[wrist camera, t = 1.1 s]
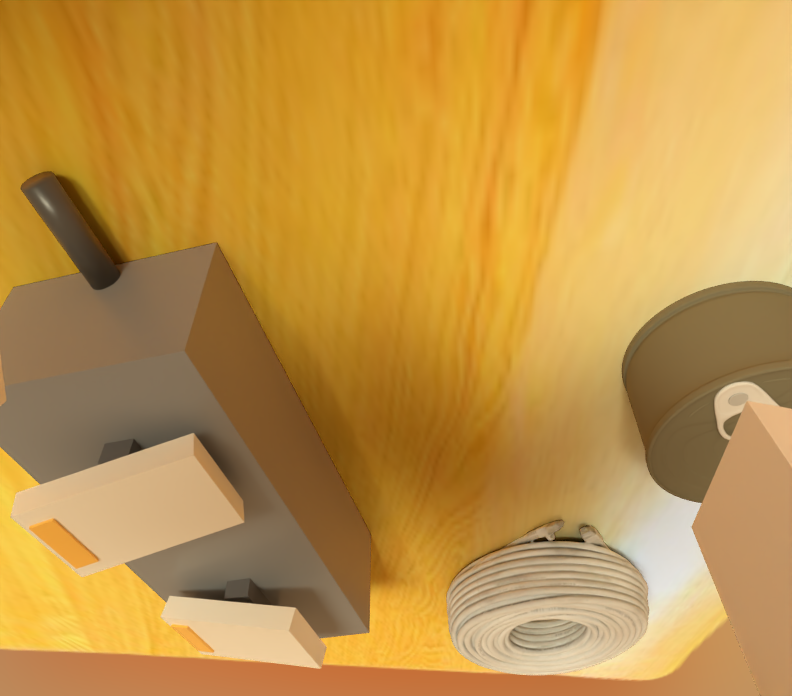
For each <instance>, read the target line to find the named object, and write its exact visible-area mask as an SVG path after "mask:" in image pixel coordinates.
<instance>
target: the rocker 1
mask: <svg viewBox="0 0 792 696" xmlns="http://www.w3.org/2000/svg"><path fill="white" fill-rule="evenodd" d="M11 518H12V519H13V520H14V521H16V522H17V523H18V524H19V525H20V526H22V527H23V528H24V529H25V530H26V531H27V532H29V533H30V534H31V535H32V536H33V537H35V538H36V539H37V540H38V541H39V542H41V543H42V544H43V545H44V546H45V547H46V548H48V549H49V550H50V551H51V552H52V553H54V554H55V555H56V556H57V557H58V558H60V559H61V560H62V561H63V562H64V563H66V564H67V565H68V566H69V567H70V568H71V569H73V570H74V571H75V572H76V573H77V574H79V575H80V576H81V577H84V576H87V575H90V574H93V573H96V572H99V571H102V570H105V569H108V568H111V567H114V566H117V565H120V564H123V563H126V562H129V561H132V560H135V559H138V558H141V557H144V556H147V555H150V554H152V553H155V552H158V551H161V550H164V549H167V548H170V547H173V546H176V545H179V544H182V543H185V542H188V541H191V540H194V539H197V538H200V537H203V536H206V535H209V534H212V533H215V532H218V531H221V530H224V529H227V528H230V527H233V526H236V525H238V524H241V523H244V506H243V500H242V498H241V497H240V496H239V494H238V493H237V492H236V490H235V489H234V487H233V486H232V485H231V483H230V482H229V481H228V479H227V478H226V476H225V475H224V474H223V472H222V471H221V470H220V468H219V467H218V465H217V464H216V463H215V461H214V460H213V459H212V457H211V456H210V455H209V453H208V452H207V450H206V449H205V448H204V446H203V445H202V444H201V442H200V441H199V439H198V438H197V437H196V435H195V434H194V433H192V434H189V435H186V436H183V437H180V438H177V439H174V440H171V441H168V442H165V443H162V444H159V445H156V446H153V447H150V448H147V449H144V450H141V451H138V452H135V453H133V454H130V455H127V456H124V457H121V458H118V459H115V460H112V461H109V462H106V463H103V464H100V465H97V466H94V467H91V468H88V469H85V470H82V471H79V472H76V473H74V474H71V475H68V476H65V477H62V478H59V479H56V480H53V481H50V482H47V483H44V484H41V485H38V486H35V487H32V488H29V489H26V490H23V491H20V492H18V493H16V496H15V500H14V504H13V508H12V513H11Z"/></svg>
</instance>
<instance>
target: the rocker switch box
mask: <svg viewBox="0 0 792 696" xmlns="http://www.w3.org/2000/svg"><path fill="white" fill-rule="evenodd" d="M21 190H22V192H23V193H24V195H25V196H26V197H27V199H28V200H29V202H30V203H31V204H32V206H33V207H34V208H35V210H36V211H37V213H38V214H39V215H40V217H41V218H42V220H43V221H44V222H45V224H46V225H47V226H48V228H49V229H50V231H51V232H52V233H53V235H54V236H55V237H56V239H57V240H58V242H59V243H60V244H61V246H62V247H63V249H64V250H65V251H66V253H67V254H68V255H69V257H70V258H71V260H72V261H73V262H74V264H75V265H76V267H77V268H78V269H79V271H80V272H81V273H76V274H72V275H67V276H63V277H58V278H54V279H49V280H45V281H40V282H36V283H31V284H27V285H22V286H18V287H13V289H12V291H11V292H10V294H9V296H8V297H7V299H6V301H5V302H4V304H3V306H2V307H1V309H0V356H1V363H2V371H3V378H4V386H5V393H6V402H5V403H3V404H2V405H1V406H0V447H1V448H2V449H3V450H4V451H5V452H6V453H7V454H8V455H10V456H11V457H12V458H13V459H14V460H15V461H16V462H17V463H18V464H19V465H20V466H21V467H22V468H23V469H24V470H26V471H27V472H28V473H29V474H30V475H31V476H32V477H33V478H34V479H35V480H36V481H37V482H38V483H39V484H40V485H41V484H44V483H47V482H50V481H53V480H56V479H59V478H62V477H65V476H68V475H71V474H74V473H76V472H79V471H82V470H85V469H88V468H91V467H94V466H97V465H100V464H103V463H106V462H109V461H112V460H115V459H118V458H121V457H124V456H127V455H130V454H133V453H135V452H138V451H141V450H144V449H147V448H150V447H153V446H156V445H159V444H162V443H165V442H168V441H171V440H174V439H177V438H180V437H183V436H186V435H189V434H192V433H194V434H195V435H196V437H197V438H198V439H199V441H200V442H201V444H202V445H203V446H204V448H205V449H206V450H207V452H208V453H209V455H210V456H211V457H212V459H213V460H214V461H215V463H216V464H217V465H218V467H219V468H220V470H221V471H222V472H223V474H224V475H225V476H226V478H227V479H228V481H229V482H230V483H231V485H232V486H233V487H234V489H235V490H236V492H237V493H238V494H239V496H240V497H241V498H242V500H243V506H244V523H241V524H238V525H236V526H233V527H230V528H227V529H224V530H221V531H218V532H215V533H212V534H209V535H206V536H203V537H200V538H197V539H194V540H191V541H188V542H185V543H182V544H179V545H176V546H173V547H170V548H167V549H164V550H161V551H158V552H155V553H152V554H150V555H147V556H144V557H141V558H138V559H135V560H132V561H129V562H126V563H125V564H126V565H127V566H128V567H129V568H130V569H131V570H132V571H133V572H134V573H135V574H137V575H138V576H139V577H140V578H141V579H142V580H143V581H144V582H145V583H146V584H147V585H148V586H149V587H150V588H151V589H153V590H154V591H155V592H156V593H157V594H158V595H159V596H160V597H161V598H162V599H163V600H164V601H165V602H166V603H167V601H168V598H169V596H177V597H188V598H198V599H209V600H219V601H230V602H241V603H251V604H262V605H272V606H283V607H293V608H296V609H297V610H298V611H299V613H300V614H301V615H302V616H303V618H304V619H305V620H306V621H307V623H308V624H309V625H310V627H311V628H312V629H313V630H314V632H315V633H316V634H317V635H318V637H319V638H327V637H336V636H344V635H353V634H361V633H369V621H370V567H371V534H370V532H369V530H368V528H367V526H366V524H365V523H364V521H363V519H362V517H361V515H360V513H359V511H358V509H357V507H356V505H355V504H354V502H353V500H352V498H351V496H350V494H349V492H348V490H347V488H346V487H345V485H344V483H343V481H342V479H341V477H340V475H339V473H338V471H337V469H336V468H335V466H334V464H333V462H332V460H331V458H330V456H329V454H328V452H327V451H326V449H325V447H324V445H323V443H322V441H321V439H320V437H319V435H318V434H317V432H316V430H315V428H314V426H313V424H312V422H311V420H310V418H309V416H308V415H307V413H306V411H305V409H304V407H303V405H302V403H301V401H300V399H299V398H298V396H297V394H296V392H295V390H294V388H293V386H292V384H291V382H290V380H289V379H288V377H287V375H286V373H285V371H284V369H283V367H282V365H281V363H280V362H279V360H278V358H277V356H276V354H275V352H274V350H273V348H272V346H271V345H270V343H269V341H268V339H267V337H266V335H265V333H264V331H263V329H262V327H261V326H260V324H259V322H258V320H257V318H256V316H255V314H254V312H253V310H252V309H251V307H250V305H249V303H248V301H247V299H246V297H245V295H244V293H243V291H242V290H241V288H240V286H239V284H238V282H237V280H236V278H235V276H234V274H233V273H232V271H231V269H230V267H229V265H228V263H227V261H226V259H225V257H224V255H223V254H222V252H221V250H220V248H219V246H218V244H217V243H212V244H208V245H203V246H199V247H194V248H190V249H185V250H181V251H176V252H172V253H167V254H163V255H158V256H153V257H149V258H144V259H140V260H135V261H131V262H126V263H122V264H117V265H115V264H114V263H113V261H112V260H111V258H110V257H109V255H108V254H107V252H106V251H105V249H104V248H103V246H102V245H101V243H100V242H99V240H98V239H97V237H96V236H95V234H94V233H93V231H92V230H91V228H90V227H89V225H88V224H87V223H86V221H85V220H84V218H83V217H82V215H81V214H80V212H79V211H78V209H77V208H76V206H75V205H74V203H73V202H72V200H71V199H70V197H69V196H68V194H67V193H66V191H65V190H64V188H63V187H62V185H61V184H60V182H59V181H58V179H57V178H56V176H55V175H54V173H53V172H43V173H39V174H37V175H35V176H33V177H31V178H29V179H28V180H27V181H25V182H24V183H23V184H22V186H21Z"/></svg>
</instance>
